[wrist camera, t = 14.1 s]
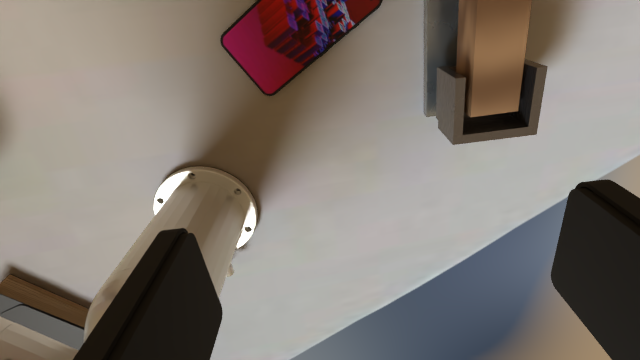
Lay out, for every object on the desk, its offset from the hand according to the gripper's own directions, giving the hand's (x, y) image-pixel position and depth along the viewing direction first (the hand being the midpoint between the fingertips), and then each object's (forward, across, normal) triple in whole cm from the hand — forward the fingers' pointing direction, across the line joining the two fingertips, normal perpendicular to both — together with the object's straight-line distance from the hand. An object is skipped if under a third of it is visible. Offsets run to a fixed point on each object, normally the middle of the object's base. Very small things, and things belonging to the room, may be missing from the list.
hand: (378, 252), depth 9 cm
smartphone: (+31, +3, -4) cm, 31 cm away
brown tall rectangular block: (+26, -13, -4) cm, 30 cm away
